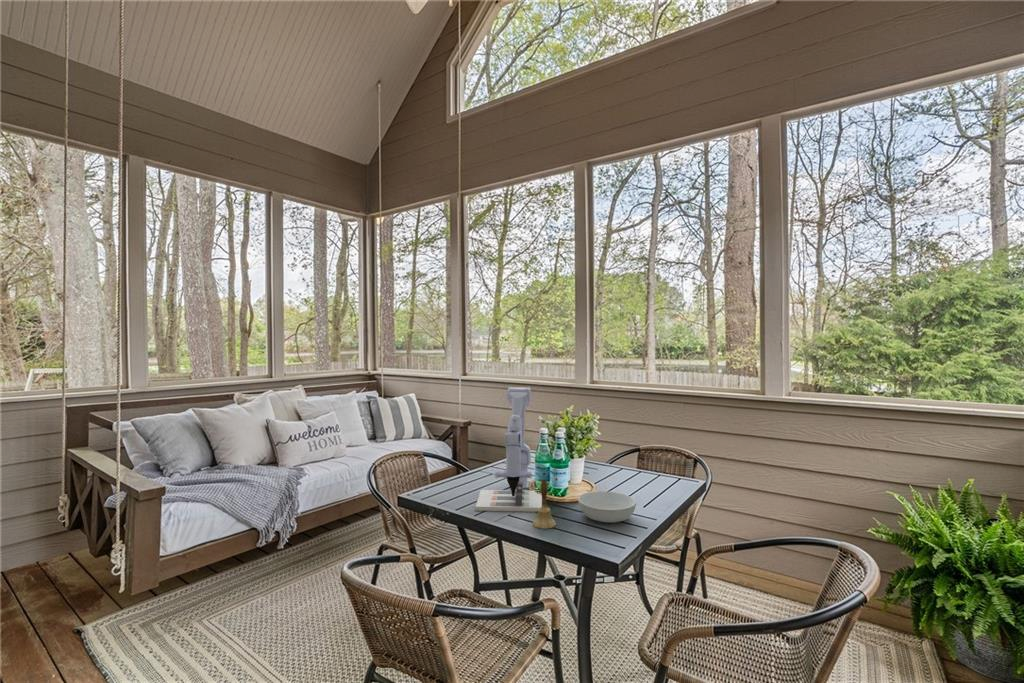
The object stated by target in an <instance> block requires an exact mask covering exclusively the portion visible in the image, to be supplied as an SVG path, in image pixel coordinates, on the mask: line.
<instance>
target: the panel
mask: <svg viewBox="0 0 1024 683" xmlns="http://www.w3.org/2000/svg"><path fill="white" fill-rule="evenodd" d="M517 487H523V482H518V484H517ZM535 491H536V490H524V489H523V497H522V493H516V490H515V496H512V492H511V489H507V490H506V489H480V492H479V495H478V498H477V501H476V503H475V508H474V509H475V510H474V511H477V512H478V511H483V512H486V511H487V512H533V513H535V512H537V513H538V509H539V508H541V507H542V495H540V494H537V493H536V492H535Z"/></svg>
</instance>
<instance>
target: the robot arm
mask: <svg viewBox="0 0 1024 683" xmlns="http://www.w3.org/2000/svg"><path fill="white" fill-rule="evenodd" d="M531 395H532V394H531V388H530V387H529V386H528V387H512V386H508V389H507V400H508V403H509V404H510V406H512V407H511V416H510V417H509V419H508V422H507V423H508V424H507V432H505V435H504V444H505V452H506V453H505V454H506V456H505V458H506V462H505V465H506V470H501V471H495V474H494V476H495V477H494V478H496V479H497V478H506V481H507V483H508V485H509V488H510V490H511V492H512V496H515V490H516V489H517V484H518V482H523V489H529V483H530V482H529V480H528V479H532V477H533V476H532V471H528V468H529V467H528V466H530V465H531V460H532V458H531V457H532V453H531V447H530V446H529V445H528V444H526V442H525V435H526V434H525V433H526V432H525V429H526V427H525V426H526V425H525V424H526V419H525V418H526V409H527V407H529V406H530V405H531Z"/></svg>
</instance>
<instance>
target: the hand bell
mask: <svg viewBox="0 0 1024 683" xmlns="http://www.w3.org/2000/svg"><path fill="white" fill-rule="evenodd" d="M539 486H540V488H539V489H540V490H539V491H541V495H542V507H541V508H539V509H538V512H537V513H536V514H537V515H536V518H535V519H534V520H533V522H532V525H533V527H535V528H537V529H544V530H545V529H546V530H547V529H553V528H554V527H556V525H557V523H556V521H555V520H554V519H553V517H552V512H551V508H549V507H548V506H547V495H548V487H549V486H548V483H547V479H546V478H542V479H541V483H540V485H539Z"/></svg>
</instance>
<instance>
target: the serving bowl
mask: <svg viewBox="0 0 1024 683" xmlns="http://www.w3.org/2000/svg"><path fill="white" fill-rule="evenodd" d="M577 502H578V506H579V509H580V511H581V512H582V513H583V515H585V516H586V517H587V518H589V519H591V520H594V521H597V522H601V523H609V524H610V523H619V522H622V521H625V520H627V519H629V518H631V517H632V515H633V514H634V512H635V510H636V505H637V503H636V500H635V498H633V497H632V496H630V495H628V494H624V493H620V492H615V491H606V490H603V491H602V490H598V491H597V490H595V491H588V492H584V493H581V494H580V495H579V496H578V498H577Z"/></svg>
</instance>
